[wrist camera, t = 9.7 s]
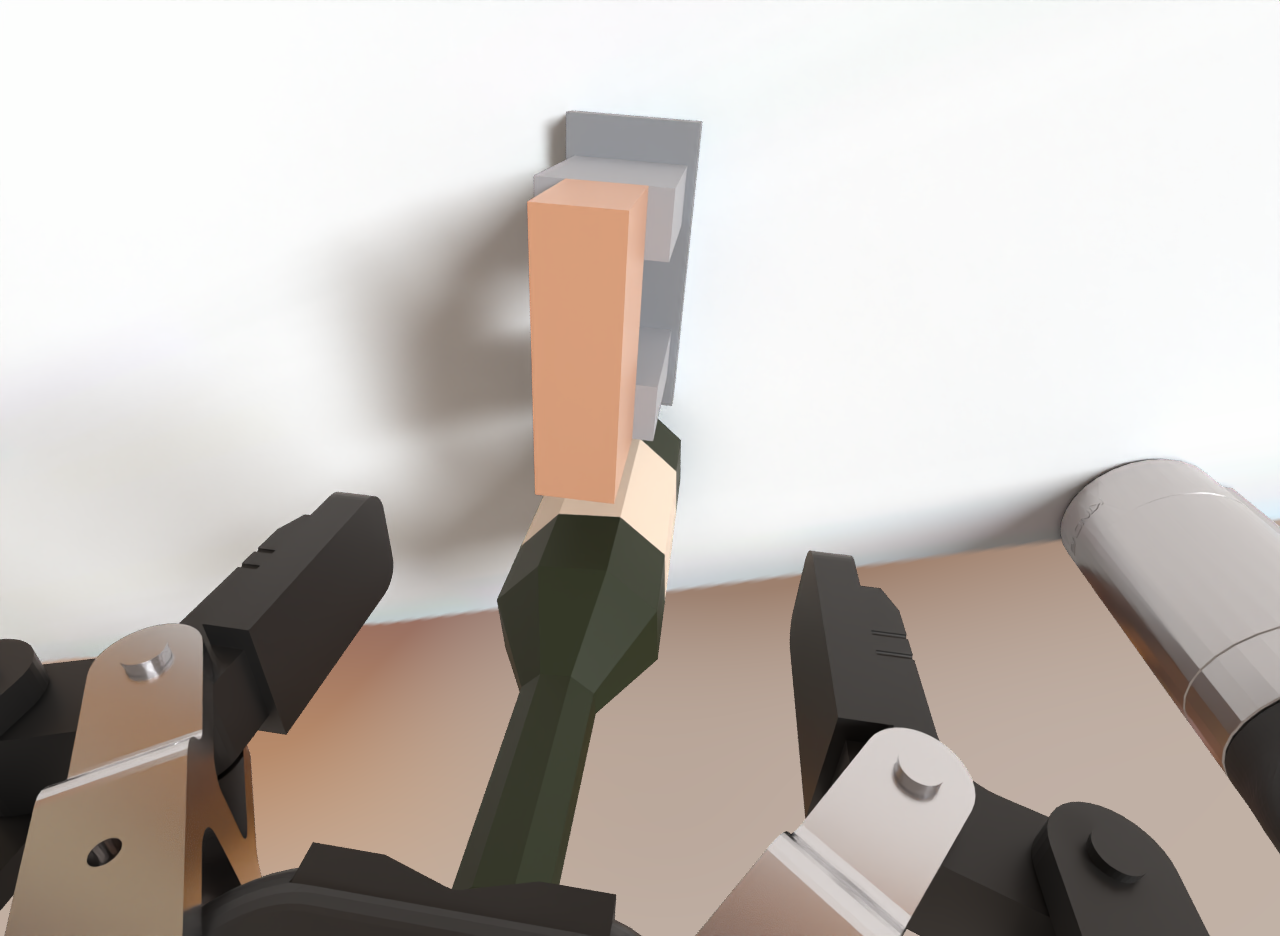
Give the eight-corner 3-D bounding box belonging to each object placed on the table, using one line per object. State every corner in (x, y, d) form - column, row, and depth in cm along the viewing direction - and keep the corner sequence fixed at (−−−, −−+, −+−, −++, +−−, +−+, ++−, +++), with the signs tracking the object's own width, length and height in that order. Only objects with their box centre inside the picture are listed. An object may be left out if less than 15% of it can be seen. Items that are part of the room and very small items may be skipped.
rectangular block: (648, 185, 27) (629, 210, 22) (632, 438, 33) (614, 504, 28) (565, 178, 27) (527, 201, 22) (565, 430, 33) (535, 494, 28)
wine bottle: (598, 519, 48) (451, 1009, 23) (547, 426, 45) (305, 885, 19) (702, 488, 46) (667, 1000, 20) (657, 387, 42) (545, 856, 17)
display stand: (702, 121, 34) (693, 135, 26) (673, 395, 42) (659, 475, 34) (572, 110, 34) (520, 120, 26) (569, 384, 43) (529, 459, 34)
